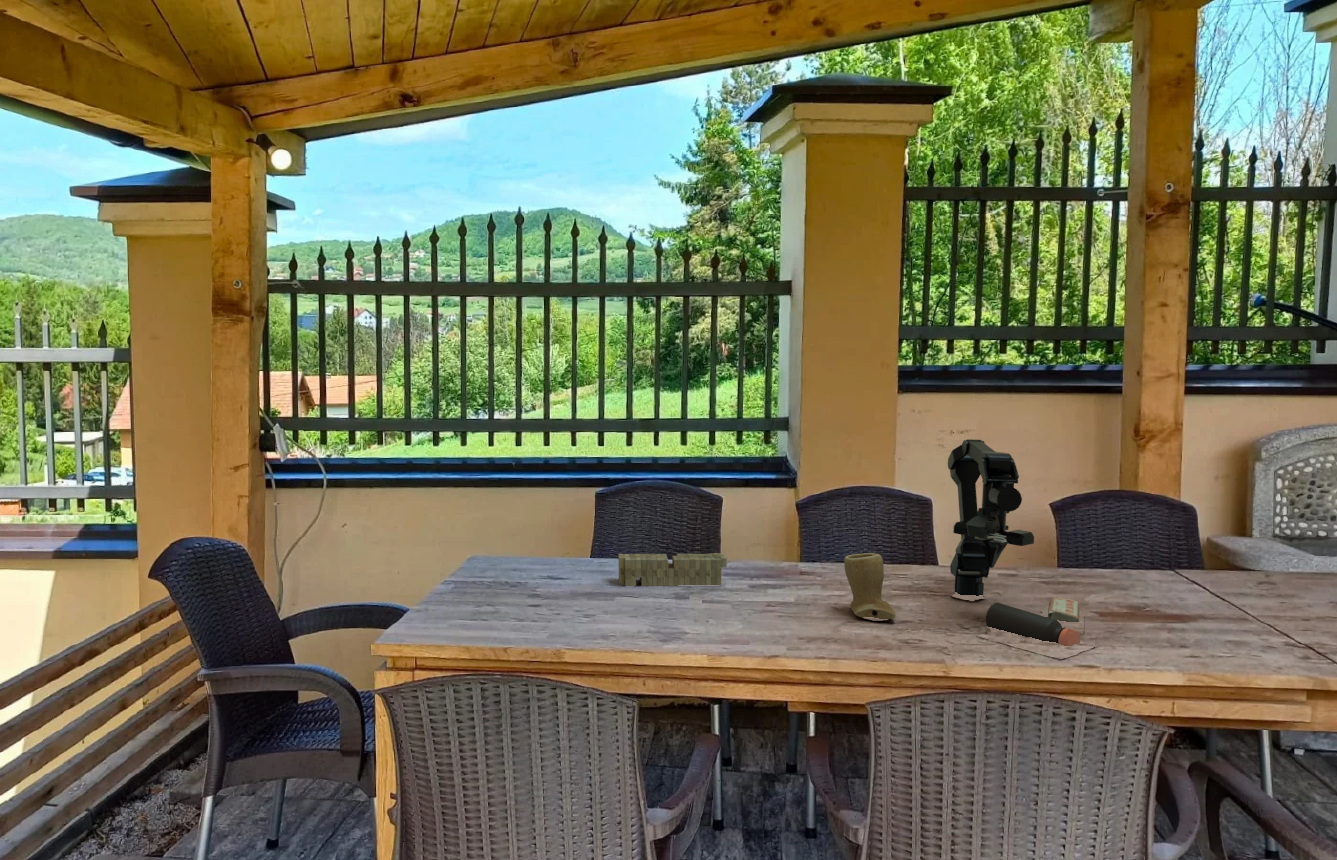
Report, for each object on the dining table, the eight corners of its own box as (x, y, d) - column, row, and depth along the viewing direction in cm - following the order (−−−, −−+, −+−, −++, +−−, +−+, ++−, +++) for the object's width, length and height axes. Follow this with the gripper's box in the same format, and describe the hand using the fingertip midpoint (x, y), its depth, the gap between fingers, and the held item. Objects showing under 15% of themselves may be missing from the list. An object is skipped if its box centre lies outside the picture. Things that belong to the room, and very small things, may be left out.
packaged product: (1042, 593, 230) (1085, 599, 225) (1041, 612, 230) (1084, 618, 226) (1038, 610, 213) (1085, 616, 209) (1037, 630, 214) (1083, 637, 209)
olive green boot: (840, 605, 231) (842, 547, 229) (888, 608, 229) (891, 549, 228) (845, 622, 216) (847, 559, 214) (896, 625, 214) (899, 562, 213)
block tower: (619, 590, 245) (727, 587, 247) (619, 559, 244) (727, 556, 247) (618, 583, 252) (722, 580, 255) (618, 553, 252) (722, 550, 254)
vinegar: (992, 636, 211) (1072, 663, 195) (980, 619, 208) (1061, 645, 192) (1006, 613, 214) (1086, 638, 197) (995, 596, 210) (1076, 620, 194)
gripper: (941, 501, 224) (938, 564, 225) (1011, 513, 209) (1007, 580, 210) (967, 498, 231) (964, 558, 232) (1037, 509, 216) (1033, 573, 217)
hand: (990, 567), depth 223 cm, fingers closed
